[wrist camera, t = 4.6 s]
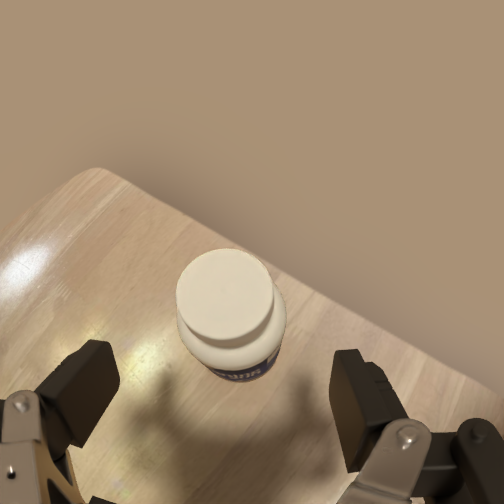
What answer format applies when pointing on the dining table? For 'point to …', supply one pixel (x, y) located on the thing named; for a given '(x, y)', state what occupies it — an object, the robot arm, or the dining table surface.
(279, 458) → the dining table surface
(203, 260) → the pill bottle
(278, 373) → the dining table surface
